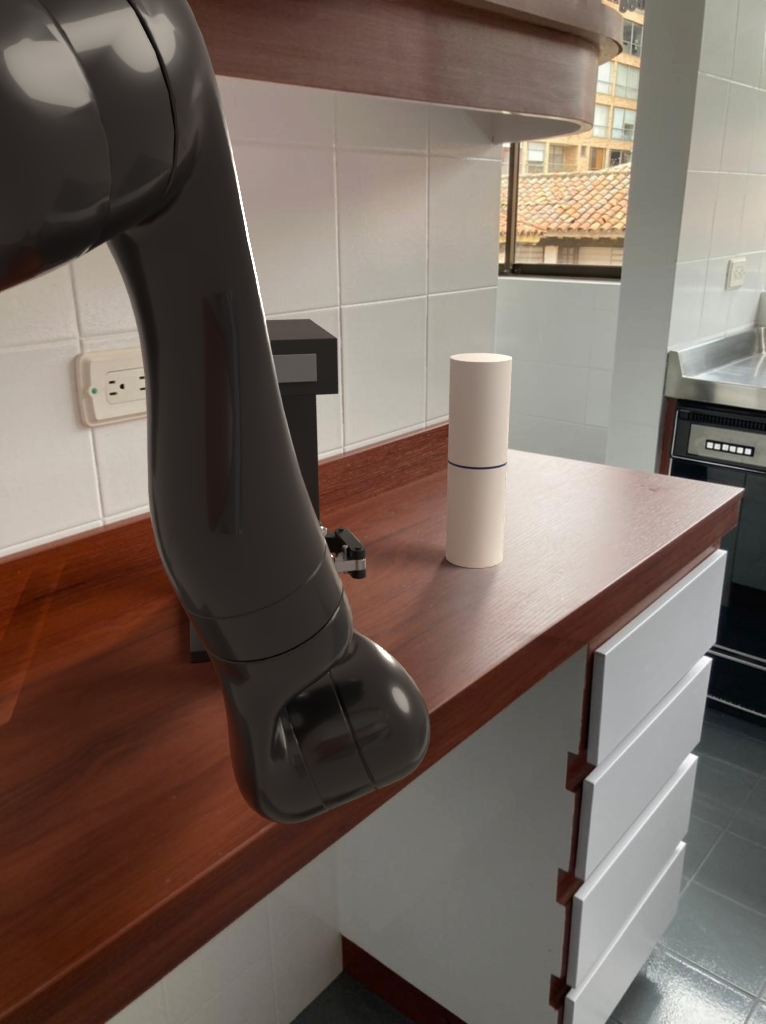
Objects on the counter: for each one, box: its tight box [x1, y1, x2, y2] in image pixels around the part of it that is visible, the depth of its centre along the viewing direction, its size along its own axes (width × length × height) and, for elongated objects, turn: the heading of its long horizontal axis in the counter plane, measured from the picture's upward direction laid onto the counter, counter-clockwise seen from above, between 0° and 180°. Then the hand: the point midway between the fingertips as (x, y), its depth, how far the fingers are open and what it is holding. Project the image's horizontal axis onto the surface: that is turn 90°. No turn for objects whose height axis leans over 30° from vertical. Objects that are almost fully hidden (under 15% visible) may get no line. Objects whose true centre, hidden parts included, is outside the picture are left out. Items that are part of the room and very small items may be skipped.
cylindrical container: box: [445, 352, 513, 569], centre depth 99 cm, size 7×7×25 cm
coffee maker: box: [189, 318, 340, 664], centre depth 83 cm, size 16×18×30 cm
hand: (270, 529), depth 74 cm, fingers closed on sauce bottle, 6 cm apart
